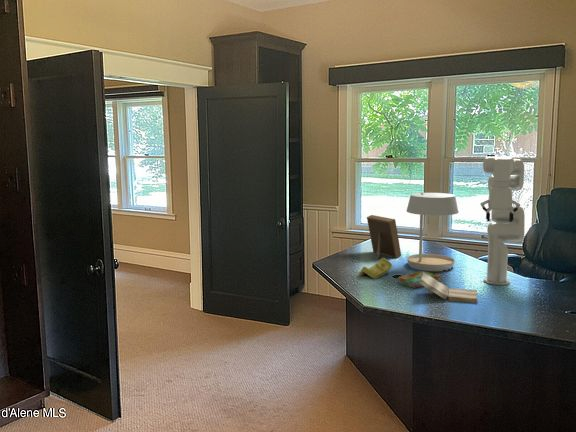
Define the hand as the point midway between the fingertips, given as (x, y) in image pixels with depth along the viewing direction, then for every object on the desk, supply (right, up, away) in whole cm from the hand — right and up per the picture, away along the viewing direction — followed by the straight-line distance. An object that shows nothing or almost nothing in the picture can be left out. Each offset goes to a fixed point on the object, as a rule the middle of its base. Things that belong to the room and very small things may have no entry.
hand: (499, 221), depth 245 cm
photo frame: (-40, -23, +90) cm, 101 cm away
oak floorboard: (-16, -36, +3) cm, 40 cm away
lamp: (-15, -27, +63) cm, 70 cm away
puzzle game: (-30, -33, +28) cm, 53 cm away
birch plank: (-29, -32, +7) cm, 44 cm away
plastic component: (-50, -30, +46) cm, 74 cm away
